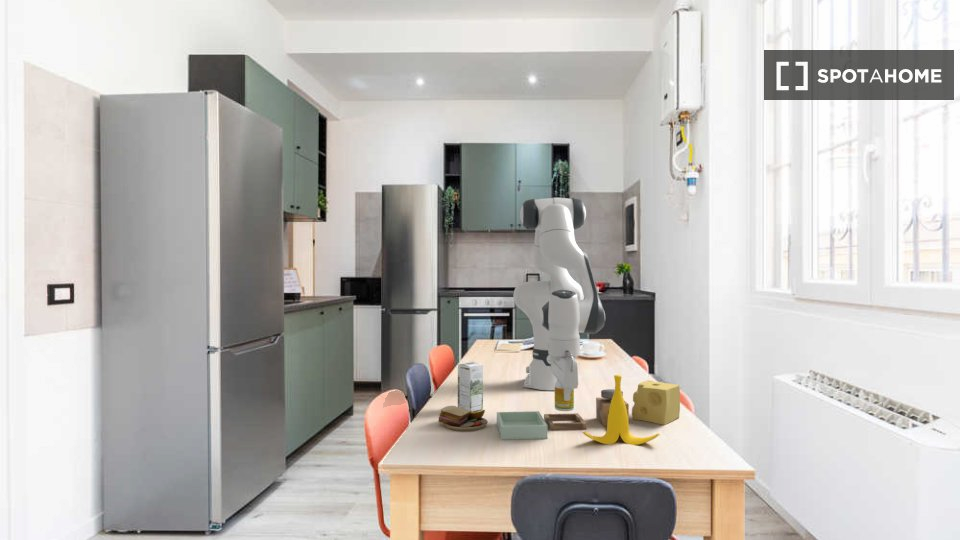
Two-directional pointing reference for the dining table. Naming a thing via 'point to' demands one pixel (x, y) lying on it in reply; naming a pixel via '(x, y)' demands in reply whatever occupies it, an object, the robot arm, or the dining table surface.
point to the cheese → (656, 402)
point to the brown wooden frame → (565, 426)
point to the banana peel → (619, 421)
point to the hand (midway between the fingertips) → (564, 397)
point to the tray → (521, 425)
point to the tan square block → (606, 406)
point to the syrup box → (470, 386)
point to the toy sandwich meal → (462, 419)
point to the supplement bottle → (559, 401)
